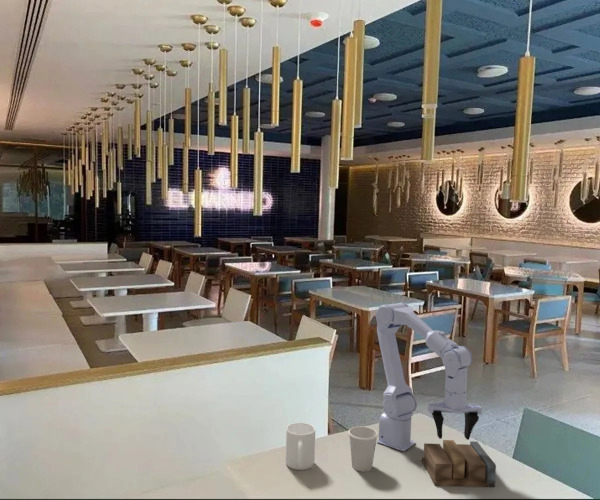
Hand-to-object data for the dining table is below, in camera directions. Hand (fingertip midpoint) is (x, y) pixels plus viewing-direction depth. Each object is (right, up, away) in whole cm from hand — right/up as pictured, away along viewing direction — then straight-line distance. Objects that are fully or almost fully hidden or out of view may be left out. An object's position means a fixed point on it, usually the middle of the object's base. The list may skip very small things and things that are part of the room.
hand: (453, 437), depth 141 cm
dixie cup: (-26, -9, +1) cm, 27 cm away
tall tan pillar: (0, -8, -1) cm, 8 cm away
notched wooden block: (0, -9, -1) cm, 9 cm away
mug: (-43, -8, 0) cm, 44 cm away
